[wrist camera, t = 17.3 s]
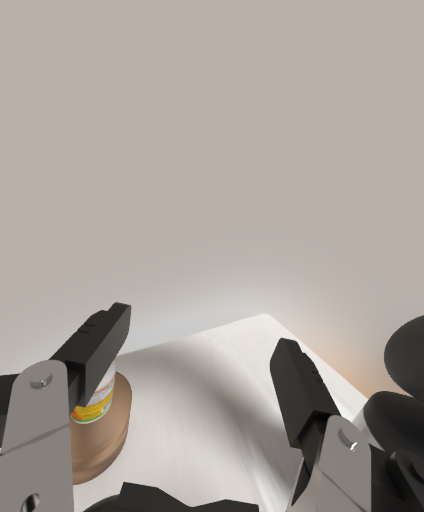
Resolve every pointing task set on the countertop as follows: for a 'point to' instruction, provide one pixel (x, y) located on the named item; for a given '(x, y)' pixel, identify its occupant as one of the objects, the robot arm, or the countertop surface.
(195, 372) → the countertop surface
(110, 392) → the supplement bottle
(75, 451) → the walnut block
